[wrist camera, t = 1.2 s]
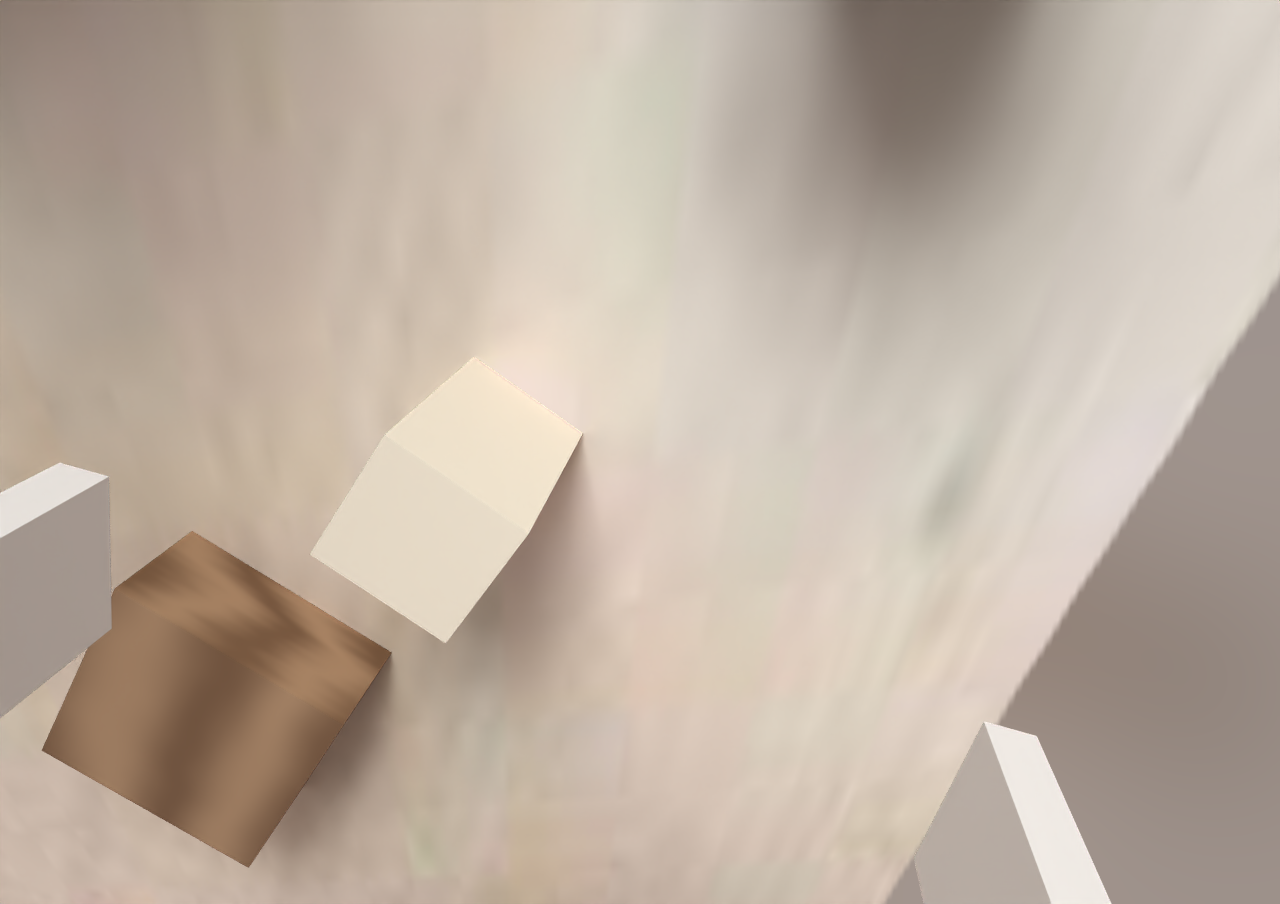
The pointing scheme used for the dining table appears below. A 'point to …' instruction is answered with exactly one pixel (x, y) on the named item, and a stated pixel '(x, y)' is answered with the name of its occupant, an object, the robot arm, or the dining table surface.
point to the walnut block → (212, 696)
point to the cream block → (448, 498)
